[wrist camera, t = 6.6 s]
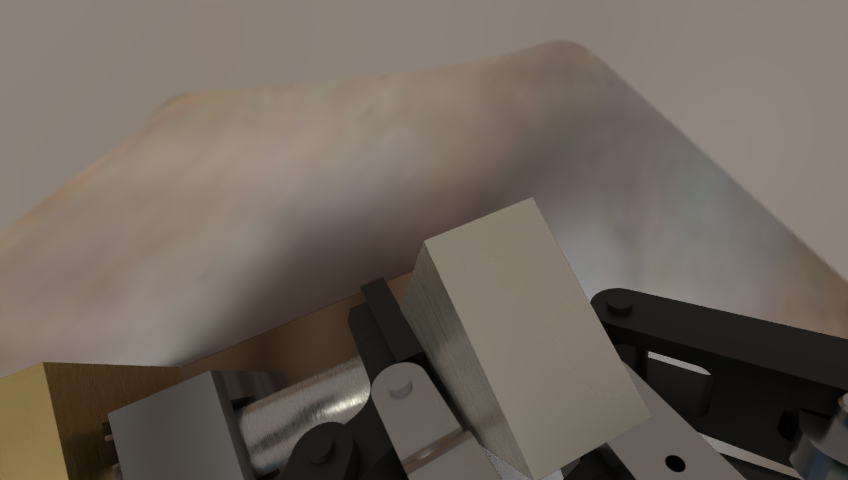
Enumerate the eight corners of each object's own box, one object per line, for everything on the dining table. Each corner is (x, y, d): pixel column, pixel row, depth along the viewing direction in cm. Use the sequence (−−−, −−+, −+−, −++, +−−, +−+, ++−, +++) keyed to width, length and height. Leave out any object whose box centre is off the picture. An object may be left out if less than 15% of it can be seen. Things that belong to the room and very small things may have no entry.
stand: (419, 271, 28) (449, 195, 16) (488, 424, 26) (583, 467, 14) (65, 419, 24) (-252, 465, 12) (111, 620, 21) (-227, 931, 9)
